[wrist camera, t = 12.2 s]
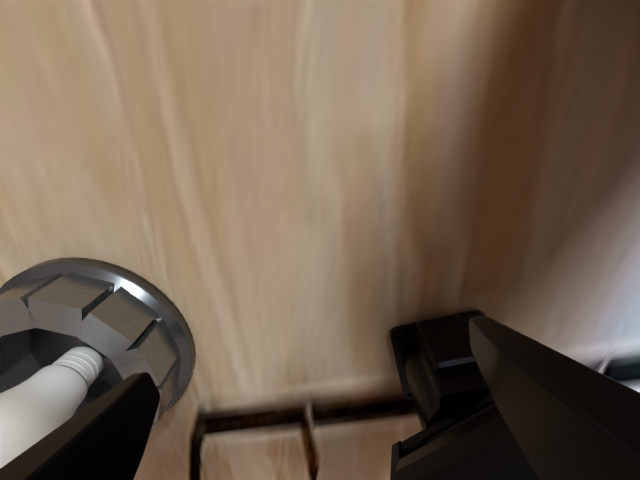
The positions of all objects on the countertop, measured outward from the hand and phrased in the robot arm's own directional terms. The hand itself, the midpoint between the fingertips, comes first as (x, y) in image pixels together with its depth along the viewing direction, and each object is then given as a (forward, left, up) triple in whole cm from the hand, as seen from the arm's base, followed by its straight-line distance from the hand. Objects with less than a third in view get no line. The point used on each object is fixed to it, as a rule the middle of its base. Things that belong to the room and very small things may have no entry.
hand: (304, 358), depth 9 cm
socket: (-5, +18, -12) cm, 22 cm away
